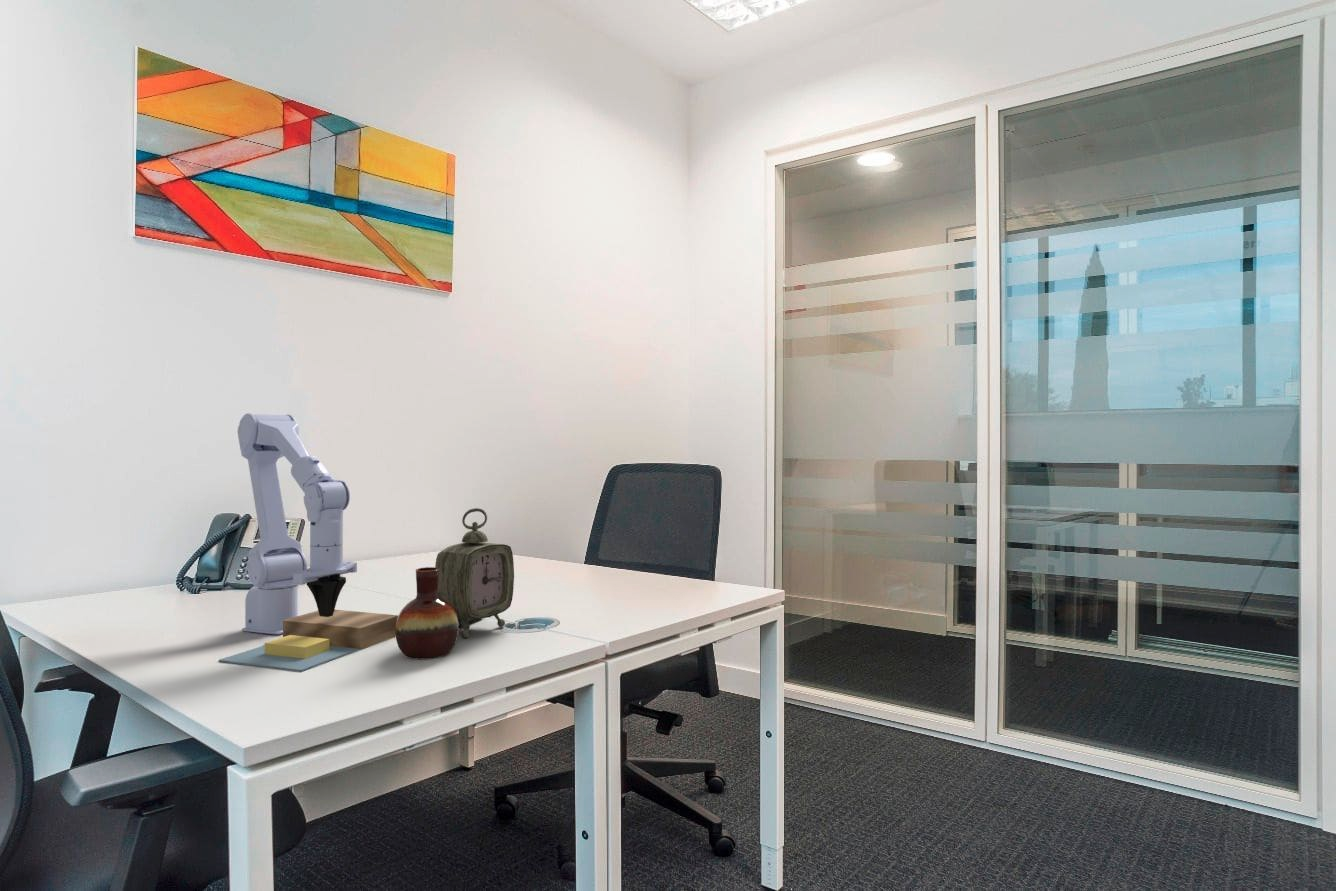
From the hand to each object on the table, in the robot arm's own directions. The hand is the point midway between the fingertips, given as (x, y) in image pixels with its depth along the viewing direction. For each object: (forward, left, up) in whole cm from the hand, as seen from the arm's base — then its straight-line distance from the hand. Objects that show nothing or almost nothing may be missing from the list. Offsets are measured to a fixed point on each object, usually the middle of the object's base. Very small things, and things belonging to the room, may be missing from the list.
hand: (326, 616), depth 150 cm
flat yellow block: (0, -8, -3) cm, 8 cm away
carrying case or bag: (+12, +22, -6) cm, 26 cm away
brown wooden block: (0, +4, -5) cm, 7 cm away
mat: (0, -9, -5) cm, 10 cm away
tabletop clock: (+21, +17, -6) cm, 28 cm away
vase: (+22, 0, -6) cm, 23 cm away
